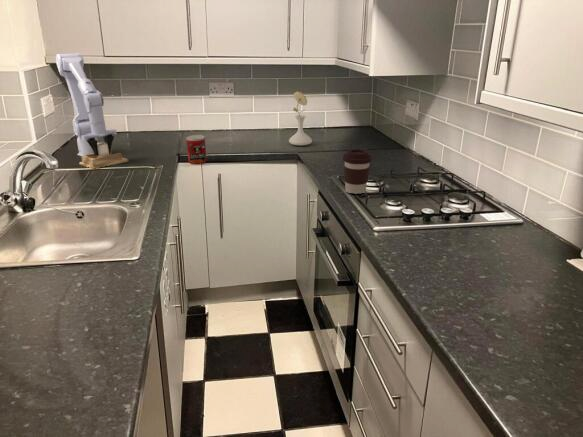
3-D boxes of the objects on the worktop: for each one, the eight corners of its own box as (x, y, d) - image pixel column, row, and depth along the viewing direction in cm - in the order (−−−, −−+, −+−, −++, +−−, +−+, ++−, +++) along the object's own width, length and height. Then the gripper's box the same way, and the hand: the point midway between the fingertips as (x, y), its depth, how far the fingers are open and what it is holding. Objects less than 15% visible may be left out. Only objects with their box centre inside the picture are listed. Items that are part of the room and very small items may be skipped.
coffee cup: (366, 187, 174) (369, 147, 167) (371, 196, 164) (374, 155, 158) (339, 187, 173) (341, 147, 167) (343, 197, 164) (345, 155, 158)
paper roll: (95, 157, 202) (92, 143, 199) (106, 155, 205) (103, 141, 202) (100, 160, 198) (98, 145, 196) (111, 157, 202) (109, 143, 199)
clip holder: (79, 164, 201) (78, 155, 199) (113, 156, 212) (112, 147, 210) (93, 169, 194) (92, 160, 192) (128, 161, 205) (127, 152, 203)
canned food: (189, 165, 199) (187, 140, 194) (188, 160, 206) (185, 135, 201) (207, 164, 201) (205, 138, 196) (205, 158, 208) (203, 134, 203)
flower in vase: (315, 146, 227) (316, 93, 217) (294, 148, 223) (294, 94, 213) (305, 139, 238) (305, 89, 228) (284, 142, 234) (283, 90, 224)
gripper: (85, 126, 188) (91, 159, 194) (118, 120, 198) (123, 152, 204) (76, 124, 192) (83, 156, 198) (109, 118, 202) (114, 149, 208)
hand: (102, 153), depth 201 cm, fingers closed on paper roll, 5 cm apart
